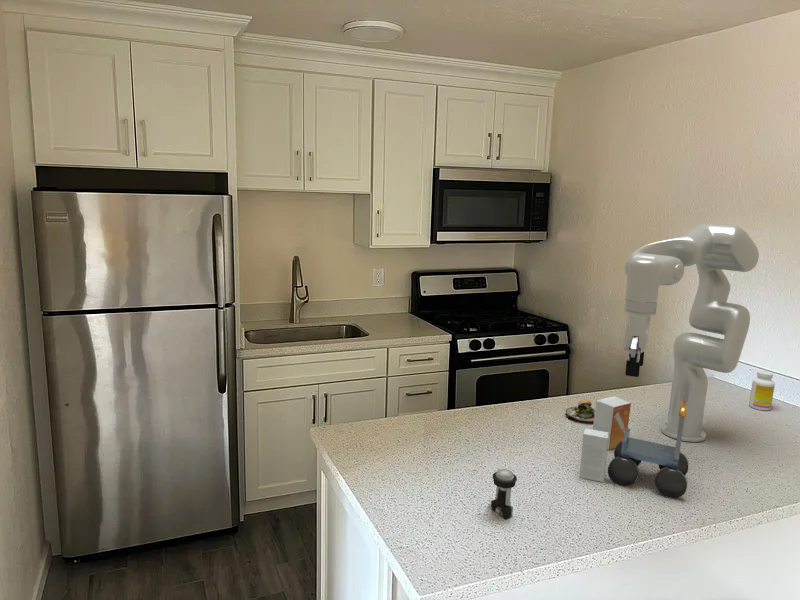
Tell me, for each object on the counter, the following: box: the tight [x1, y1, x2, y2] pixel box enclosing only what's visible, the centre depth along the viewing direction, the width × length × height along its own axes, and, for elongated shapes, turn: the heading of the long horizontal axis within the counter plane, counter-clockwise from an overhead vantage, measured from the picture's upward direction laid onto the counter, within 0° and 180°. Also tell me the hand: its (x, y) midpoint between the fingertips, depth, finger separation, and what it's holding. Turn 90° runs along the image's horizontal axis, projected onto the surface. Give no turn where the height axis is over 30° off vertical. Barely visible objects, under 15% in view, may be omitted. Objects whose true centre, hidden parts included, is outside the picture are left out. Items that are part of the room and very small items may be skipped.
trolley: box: [607, 401, 689, 499], centre depth 150 cm, size 13×18×21 cm
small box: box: [592, 395, 632, 451], centre depth 172 cm, size 8×6×13 cm
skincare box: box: [579, 427, 609, 483], centre depth 152 cm, size 6×4×12 cm
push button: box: [487, 468, 518, 521], centre depth 133 cm, size 7×5×10 cm
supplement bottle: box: [748, 370, 775, 412], centre depth 207 cm, size 7×7×13 cm
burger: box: [564, 398, 595, 423], centre depth 192 cm, size 12×12×8 cm
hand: (634, 370), depth 155 cm, fingers open, 9 cm apart
